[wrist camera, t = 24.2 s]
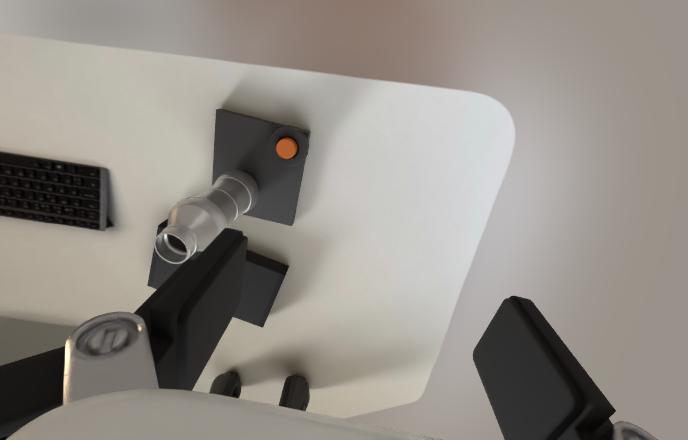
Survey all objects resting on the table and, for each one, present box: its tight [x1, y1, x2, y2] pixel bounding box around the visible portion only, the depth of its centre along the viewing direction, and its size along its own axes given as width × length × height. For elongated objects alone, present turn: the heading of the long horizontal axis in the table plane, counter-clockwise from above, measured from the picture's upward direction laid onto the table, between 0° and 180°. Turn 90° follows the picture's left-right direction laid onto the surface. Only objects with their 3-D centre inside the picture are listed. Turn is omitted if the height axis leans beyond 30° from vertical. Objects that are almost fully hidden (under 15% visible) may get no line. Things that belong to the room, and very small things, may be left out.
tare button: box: [276, 137, 297, 159], centre depth 44 cm, size 3×3×2 cm
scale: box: [212, 109, 310, 226], centre depth 47 cm, size 16×14×3 cm
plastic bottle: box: [154, 170, 259, 264], centre depth 40 cm, size 6×7×20 cm
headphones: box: [209, 373, 310, 411], centre depth 62 cm, size 22×6×20 cm, turn 91°
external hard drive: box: [148, 219, 289, 327], centre depth 57 cm, size 14×23×3 cm, turn 66°
